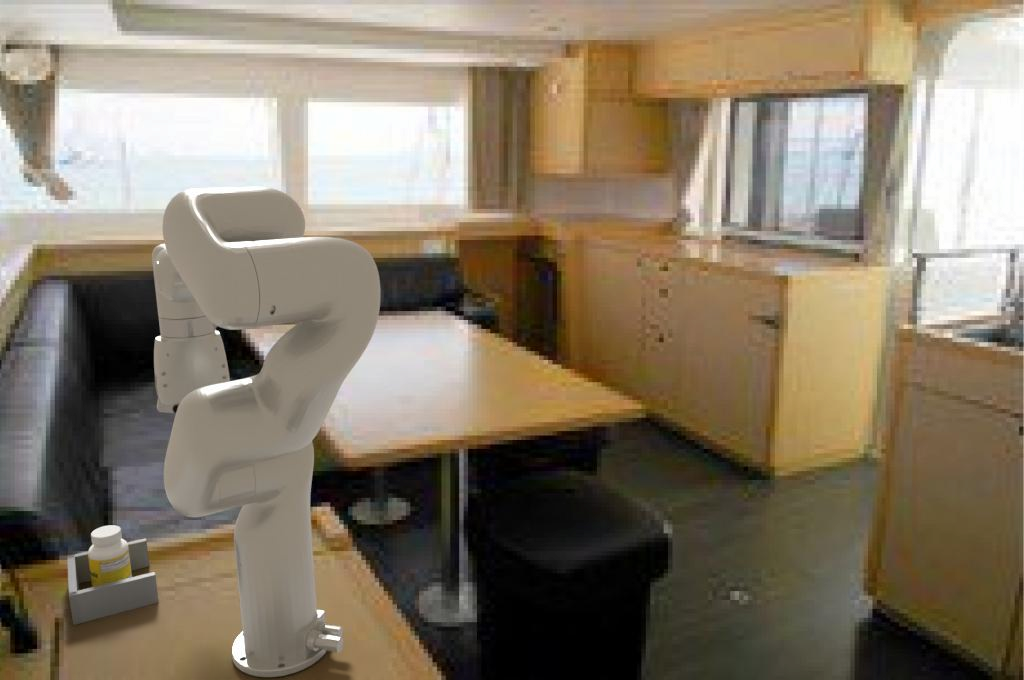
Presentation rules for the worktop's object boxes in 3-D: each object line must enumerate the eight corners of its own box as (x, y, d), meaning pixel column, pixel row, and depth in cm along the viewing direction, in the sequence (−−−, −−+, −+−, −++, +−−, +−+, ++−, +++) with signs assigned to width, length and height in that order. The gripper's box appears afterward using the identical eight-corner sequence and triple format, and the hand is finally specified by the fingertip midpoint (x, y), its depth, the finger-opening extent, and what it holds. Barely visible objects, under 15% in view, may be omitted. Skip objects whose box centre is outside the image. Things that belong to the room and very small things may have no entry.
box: (149, 563, 124) (145, 538, 122) (158, 602, 113) (155, 574, 112) (71, 582, 118) (67, 555, 117) (73, 625, 107) (68, 596, 106)
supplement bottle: (93, 585, 117) (86, 526, 115) (132, 577, 119) (126, 519, 117) (92, 603, 112) (85, 542, 110) (133, 594, 115) (127, 534, 113)
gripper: (234, 317, 120) (244, 427, 124) (129, 327, 113) (143, 444, 117) (245, 325, 114) (255, 441, 118) (134, 337, 106) (149, 460, 111)
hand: (199, 442), depth 118 cm, fingers closed
